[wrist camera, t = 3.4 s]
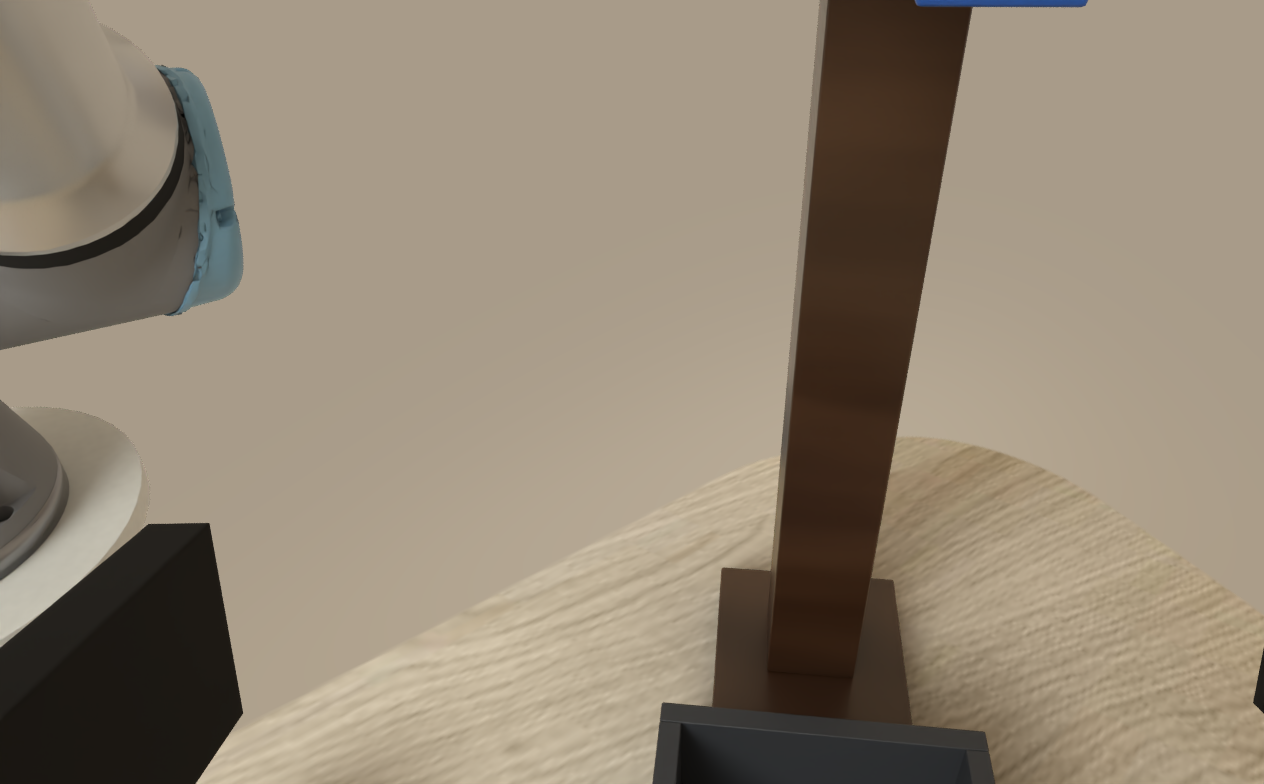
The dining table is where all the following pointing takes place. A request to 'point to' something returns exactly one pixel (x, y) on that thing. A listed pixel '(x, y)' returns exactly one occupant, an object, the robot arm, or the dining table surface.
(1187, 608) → the dining table surface
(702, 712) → the holder
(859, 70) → the stand
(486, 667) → the dining table surface
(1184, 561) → the dining table surface
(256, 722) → the dining table surface
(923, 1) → the blue disc paddle
